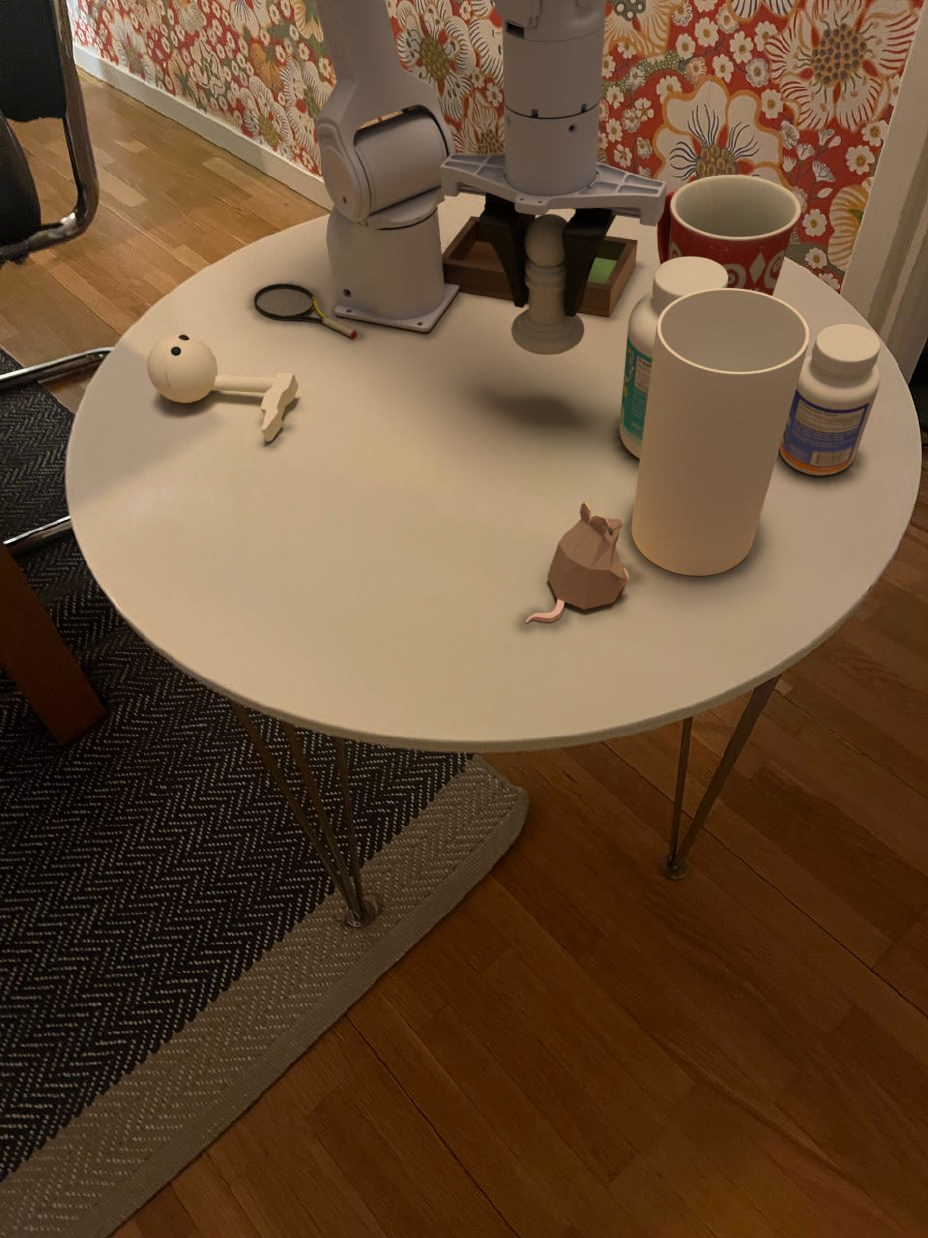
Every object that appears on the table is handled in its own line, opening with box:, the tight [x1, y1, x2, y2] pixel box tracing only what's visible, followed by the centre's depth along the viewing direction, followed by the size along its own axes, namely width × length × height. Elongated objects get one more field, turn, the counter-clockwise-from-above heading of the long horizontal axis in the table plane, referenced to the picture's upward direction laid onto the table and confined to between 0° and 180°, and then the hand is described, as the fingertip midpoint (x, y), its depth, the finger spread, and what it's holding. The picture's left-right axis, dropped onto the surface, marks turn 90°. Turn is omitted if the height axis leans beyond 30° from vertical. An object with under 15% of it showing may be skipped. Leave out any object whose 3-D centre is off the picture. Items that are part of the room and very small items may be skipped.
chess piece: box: [510, 213, 585, 356], centre depth 61 cm, size 5×5×9 cm
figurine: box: [146, 332, 299, 443], centre depth 71 cm, size 8×6×12 cm
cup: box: [631, 288, 810, 577], centre depth 55 cm, size 8×8×16 cm
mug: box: [656, 174, 802, 297], centre depth 68 cm, size 13×9×14 cm
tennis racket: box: [253, 283, 358, 339], centre depth 81 cm, size 12×1×5 cm
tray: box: [442, 215, 639, 317], centre depth 81 cm, size 9×16×3 cm, turn 68°
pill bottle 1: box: [619, 257, 728, 459], centre depth 62 cm, size 8×7×14 cm
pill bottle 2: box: [779, 323, 881, 476], centre depth 61 cm, size 5×5×10 cm
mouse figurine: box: [525, 501, 630, 624], centre depth 56 cm, size 5×8×7 cm, turn 127°
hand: (548, 304), depth 63 cm, fingers closed on chess piece, 3 cm apart
